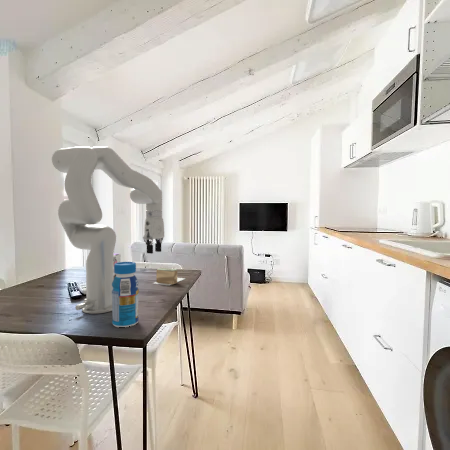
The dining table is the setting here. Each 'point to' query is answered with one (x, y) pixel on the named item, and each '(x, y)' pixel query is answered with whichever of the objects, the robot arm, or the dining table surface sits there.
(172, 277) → the oak slab
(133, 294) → the beverage bottle
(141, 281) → the dining table surface
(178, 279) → the white rectangular board
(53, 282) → the dining table surface
